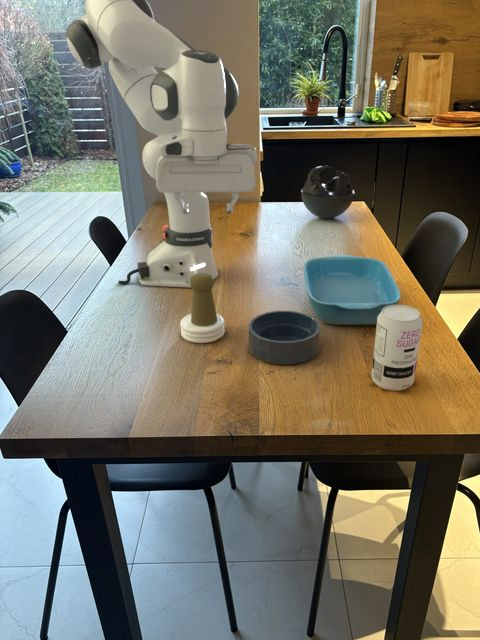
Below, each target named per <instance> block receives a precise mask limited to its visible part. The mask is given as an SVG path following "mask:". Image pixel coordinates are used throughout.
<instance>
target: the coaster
mask: <svg viewBox="0 0 480 640" xmlns="http://www.w3.org/2000/svg"><path fill="white" fill-rule="evenodd" d="M216 315H217V322H216V323H215V324H212V325H209V326H197V325H194V324H192V322H191V313H189V314H187V315H185V316H184V317H183V318H182V319H181V320H180V323H179V326H180V336H181V337H182V339H184V340H185V341H187V342H190V343H194V344H207V343H208V344H209V343H213V342H215V341H216V342H217V341H218V340H220V339H221V338H222V337H224V335H225V319H224V317H222V316H221V315H220V314H218V313H216Z"/></svg>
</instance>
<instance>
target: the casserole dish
mask: <svg viewBox="0 0 480 640" xmlns="http://www.w3.org/2000/svg"><path fill="white" fill-rule="evenodd" d="M303 276H304V277H303V278H304V282H305V288H306V293H307V295H308V301H309V303H310V306H311V307H310V308H311V309H312V311H313V313H314V315H315V316H316V317H317V319H319V320H320V321H321V322H323V323H325V324H327V325H328V324H329V325H334V326H353V325H354V326H371V325H377V318H378V316H379V314H380V313H381V312H382V309H383V308H384V307H386V306H389V305H399V302H400V301H401V298H402V297H401V291H400V288H399V286H398V285H397V283H396V281H395V279H394V277H393V274H392V273H391V270H390V268H389V267H388V265H387V264H386V263H385V262H383V261H382V260H380V259H377V258H374V257H367V256H365V257H364V256H358V255H351V254H350V255H349V254H333V255H332V254H331V255H327V256H322V257H314V258H310V259H308V260H307V261H305V263H304V264H303Z"/></svg>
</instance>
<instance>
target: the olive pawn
mask: <svg viewBox="0 0 480 640" xmlns="http://www.w3.org/2000/svg"><path fill="white" fill-rule="evenodd" d="M214 284H215V279H213V277H212V276H211V275H210V274H208V273H197V274H194V275H193V276H192V277H191V279H190V285H191V289H192V299H191V300H192V301H191V313H190V314H191V322H192V324H194V325H197V326H209V325H212V324H215V323H216V322H217V315H216V314H217V310H216V305H215V300H214V299H215V298H214V294H213V288H214Z"/></svg>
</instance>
